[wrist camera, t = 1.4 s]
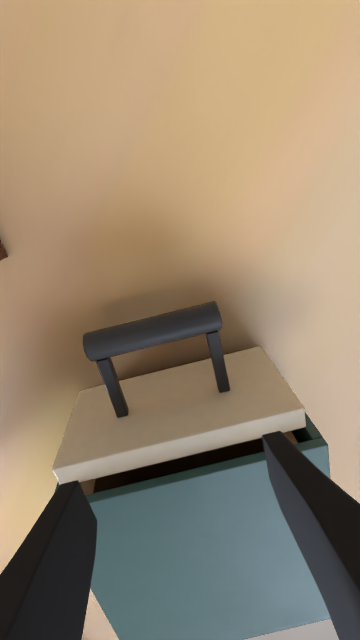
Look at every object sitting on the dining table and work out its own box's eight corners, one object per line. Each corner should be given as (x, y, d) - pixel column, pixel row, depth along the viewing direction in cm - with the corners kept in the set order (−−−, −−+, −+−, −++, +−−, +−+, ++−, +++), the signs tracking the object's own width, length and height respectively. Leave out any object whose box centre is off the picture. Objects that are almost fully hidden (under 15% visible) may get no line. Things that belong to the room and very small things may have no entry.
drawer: (50, 320, 19) (4, 379, 13) (249, 271, 19) (295, 307, 13) (136, 527, 25) (132, 627, 20) (282, 491, 25) (322, 581, 20)
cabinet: (81, 406, 22) (47, 513, 15) (269, 360, 22) (328, 444, 14) (138, 539, 27) (134, 666, 20) (289, 503, 27) (340, 616, 20)
